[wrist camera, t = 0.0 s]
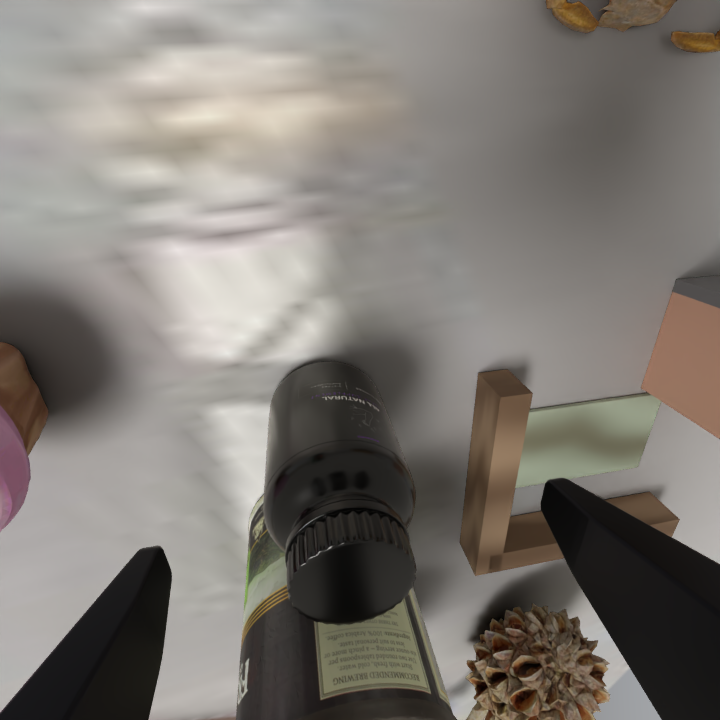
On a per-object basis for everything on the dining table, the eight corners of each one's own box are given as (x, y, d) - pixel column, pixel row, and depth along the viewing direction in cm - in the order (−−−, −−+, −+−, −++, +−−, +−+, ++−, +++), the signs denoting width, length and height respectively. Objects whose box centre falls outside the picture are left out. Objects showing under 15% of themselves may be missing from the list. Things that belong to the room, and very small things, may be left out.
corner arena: (642, 508, 36) (671, 536, 33) (459, 542, 34) (475, 575, 31) (707, 344, 29) (750, 363, 26) (478, 372, 26) (500, 397, 24)
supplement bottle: (362, 341, 24) (430, 491, 13) (389, 429, 27) (460, 607, 16) (249, 378, 24) (226, 561, 13) (290, 463, 27) (298, 664, 16)
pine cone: (494, 566, 36) (563, 699, 27) (578, 572, 39) (665, 694, 30) (403, 703, 44) (434, 838, 35) (478, 700, 47) (523, 825, 38)
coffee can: (268, 583, 32) (261, 859, 19) (230, 486, 27) (189, 773, 14) (396, 550, 33) (468, 793, 20) (382, 452, 28) (466, 693, 15)
